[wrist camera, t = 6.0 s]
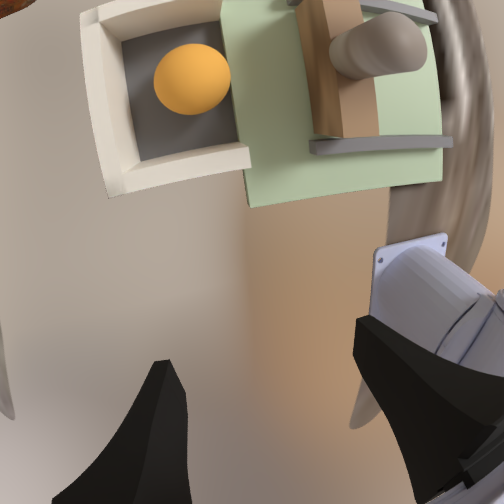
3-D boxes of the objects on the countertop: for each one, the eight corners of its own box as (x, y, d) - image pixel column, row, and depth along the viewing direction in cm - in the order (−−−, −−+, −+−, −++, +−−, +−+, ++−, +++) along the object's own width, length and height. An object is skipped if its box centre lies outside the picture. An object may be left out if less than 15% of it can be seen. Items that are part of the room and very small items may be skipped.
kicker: (347, 131, 16) (436, 146, 9) (310, 133, 16) (388, 148, 9) (329, 10, 13) (404, -38, 6) (291, 9, 13) (351, -52, 5)
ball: (170, 121, 16) (237, 108, 16) (150, 123, 12) (234, 106, 12) (160, 60, 14) (227, 46, 14) (138, 47, 11) (222, 27, 10)
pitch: (432, 177, 20) (471, 192, 16) (141, 224, 18) (125, 254, 14) (409, -10, 13) (444, -24, 9) (103, -2, 11) (79, -28, 7)
